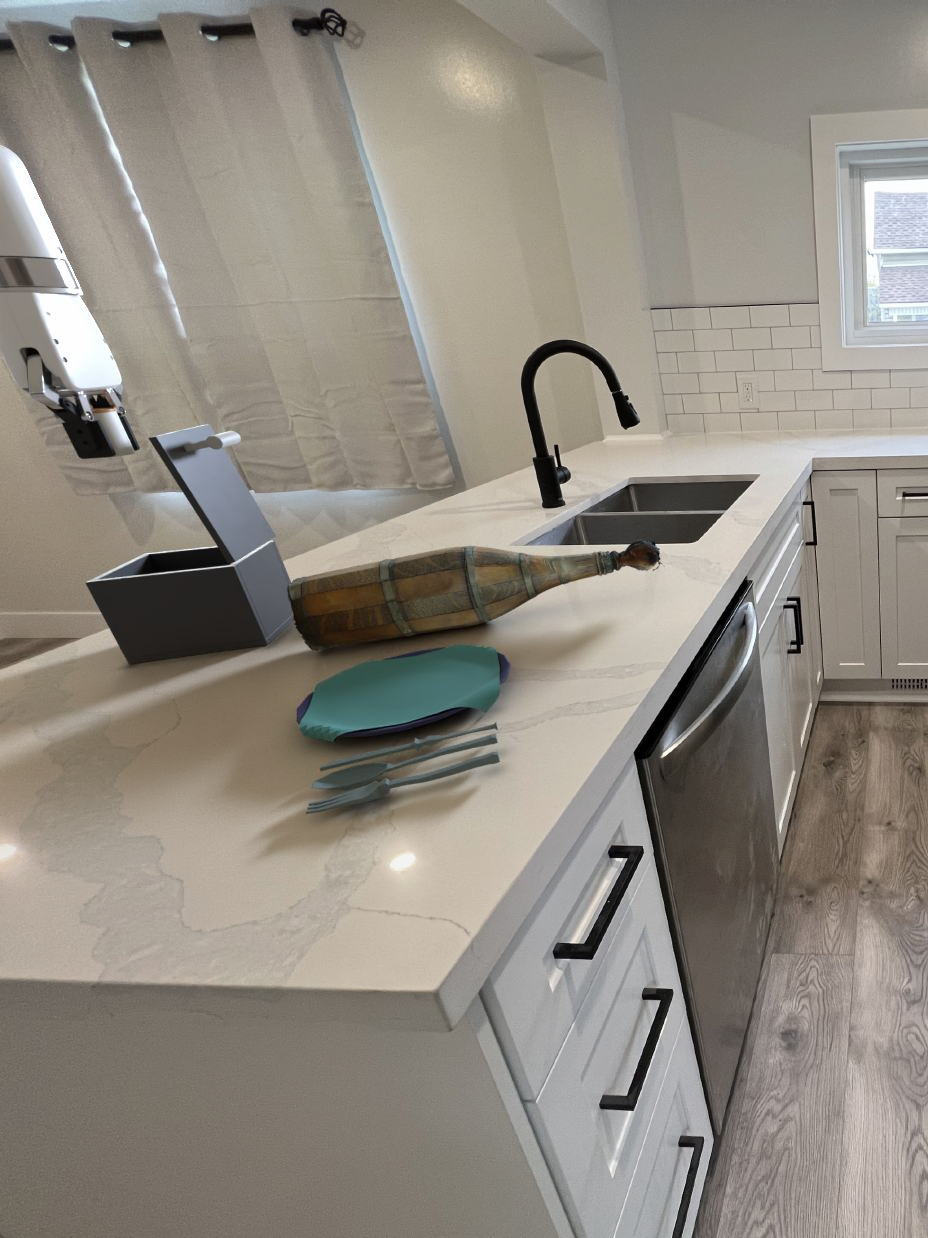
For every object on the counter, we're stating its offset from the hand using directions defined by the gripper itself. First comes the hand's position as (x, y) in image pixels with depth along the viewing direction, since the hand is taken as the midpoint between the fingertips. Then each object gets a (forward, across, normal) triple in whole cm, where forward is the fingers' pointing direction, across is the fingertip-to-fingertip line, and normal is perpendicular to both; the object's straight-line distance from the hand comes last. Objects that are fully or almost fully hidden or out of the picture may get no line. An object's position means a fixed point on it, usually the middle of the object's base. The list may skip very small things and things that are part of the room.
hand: (110, 452), depth 82 cm
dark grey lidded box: (+25, -1, +2) cm, 25 cm away
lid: (+6, -1, +8) cm, 10 cm away
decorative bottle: (+25, +7, +38) cm, 46 cm away
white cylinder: (0, 0, 0) cm, 0 cm away
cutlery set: (+25, +35, +32) cm, 54 cm away
